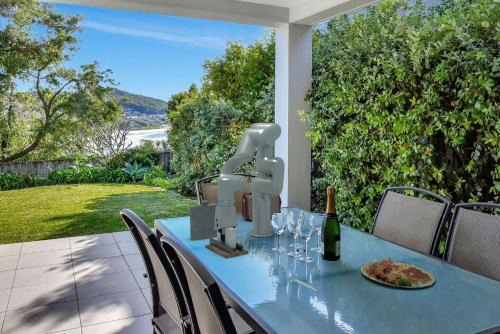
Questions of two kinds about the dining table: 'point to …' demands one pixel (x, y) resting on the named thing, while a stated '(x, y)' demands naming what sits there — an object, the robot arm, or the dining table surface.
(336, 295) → the dining table surface
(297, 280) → the butter knife
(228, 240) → the door panel
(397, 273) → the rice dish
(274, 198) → the handbag
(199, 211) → the hip flask
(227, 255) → the track
